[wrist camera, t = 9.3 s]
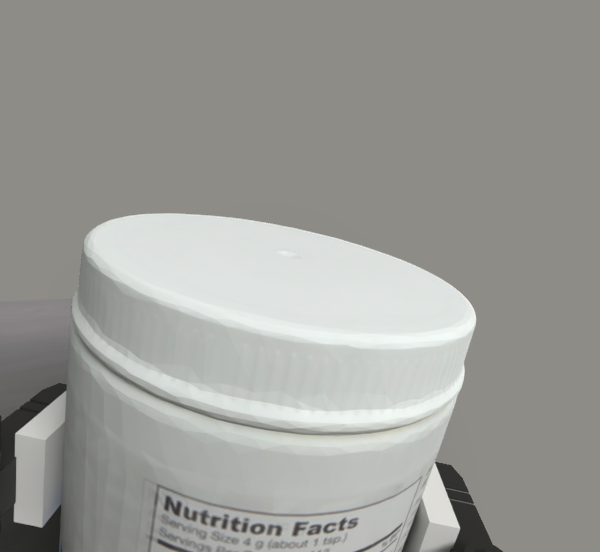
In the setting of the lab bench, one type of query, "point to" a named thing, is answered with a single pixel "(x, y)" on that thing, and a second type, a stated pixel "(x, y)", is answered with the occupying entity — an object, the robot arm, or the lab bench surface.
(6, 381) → the lab bench surface
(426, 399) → the supplement tub
